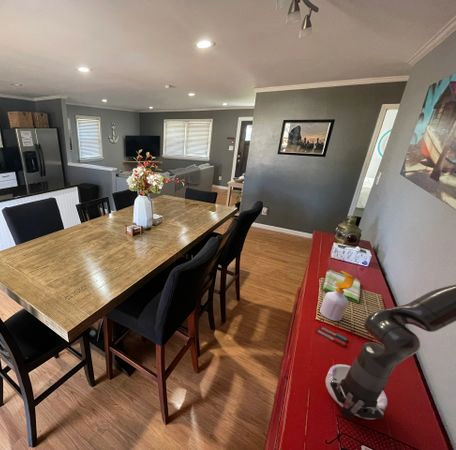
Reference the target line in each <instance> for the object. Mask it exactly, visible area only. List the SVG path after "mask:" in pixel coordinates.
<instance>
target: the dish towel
mask: <svg viewBox="0 0 456 450" xmlns="http://www.w3.org/2000/svg"><path fill="white" fill-rule="evenodd" d="M345 277H346V275H345V274H343V273H341V272H336V271H334V270H332V269H329V270H327V271H326V273H325V277H324V282H323V285H322V286H323V287H322V290H323V291H326V293H328V292H335V290H336V288H338V286H337V285H335V283H341V282H343V281H344V279H345ZM343 290H344V294H343V295H344V296H345V297H346V298H347V300H348V301H352V302H354V303H356V304H358V303H360V297H361V280H359V279H357V278H355V280H354V282H353V285H352V287H351V288H348V289H343Z"/></svg>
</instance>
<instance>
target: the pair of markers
mask: <svg viewBox="0 0 456 450" xmlns="http://www.w3.org/2000/svg"><path fill="white" fill-rule="evenodd" d="M317 333H318V334H319V335H321V336H323V337H325V338H326V339H329V340H331V341H333V342H334V343H336V344H339V346H341V347H345V346H346V342H345V341H343V340H341V339H339V338H337V337H335V336H334V337H333V336H332V335H329V334H328V333H326V332H324V331H322V330H321V329H318V330H317Z"/></svg>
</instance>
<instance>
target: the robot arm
mask: <svg viewBox="0 0 456 450" xmlns="http://www.w3.org/2000/svg"><path fill="white" fill-rule="evenodd" d="M454 323H456V284H451V285H447V286H444V287H439V288H437V289H434V290H431V291H429V292H427V293H425V294H423V295H420V297H417V298H416V299H414V300H412V301H410V302H409V303H405V304H402V305H398V306H393V307H390V308H386V309H381V310H378V311H375V312H372V313H371V314H369V315H368V316H367V317H366V318H365V320H364V322H363V327H364V329H365V331H366V332H367V333H368V334H369V335H371V337H373V338H374V339H375V340H376V341H377V342H378V343H377V342H373V341H367V342H365V343H363V345H362V346H361V348H360V350H359V352H358V354H357V355H356V357H355V358H354V360H353V361H352V363H351V365H349V366H350V369H349V371H348V373H347V375H346V377H345V379H342V380H341V381H337V380H336V379H335V378H333V379H332V381H331V383H330V385H331V387H332V389H333V391H334V393H335V396H336V398H337V400H338V401H339V402H340V403H342V404H343V407H341V409H340V413H341V414H342V416H343V418H345V419H347V420H353V418H354V416H356V415H355V414H358V415H359V416H360V417H359V418H361V417H362V418H361V419H364V418H377V419H379V420H382V419H383V418H384V414H385V410H383V409H381V408H379V407H378V405H377V403H378V402H377V399H378V398H379V396H380V394H381V393H382V391H384V390H385V389H386V386H387V384H388V382H389V379H390V377H391V375H392V373H393V371H394V370H395V368H396V367H397V366H398V365H400V364H401V363H402V362H404V361H405V360H406V359H408V358H410V357H412V356H413V355H415V354H417V353H418V352H419V350H420V349H421V341H420V338H419V337H418V335H417V334H416V333H415V332H413V331H412V330H411V329H409V328H408V327H407V326H405V325H412V326H415V327H417V328H419V329H421V330H424V331H426V332H430V333H434V332H438V331H440V330H441V329H443V328H446V327H447V326H449V325H452V324H454ZM341 388H342V390H343V392H344V394H343V392H342V390H341ZM344 395H345V396H346V398H345V397H344ZM351 401H352V402H354V403H353V405H352V406H351V405H350V404H351ZM350 406H351V407H350ZM361 407H363V408H361Z"/></svg>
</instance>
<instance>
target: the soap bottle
mask: <svg viewBox="0 0 456 450" xmlns="http://www.w3.org/2000/svg"><path fill="white" fill-rule="evenodd" d="M340 273H341V274H342V275H345V276H346V277H345V279H344V281H343V282H341V283H335V285H337V286H338V288H336V290H335V292H326V293H325V295H324V297H323V300H322V303H321V306H320V308H319V312H320V314H321V315H322V316H323V317H324V318H326V319H328V320H330V321H333V322H339V321H341V320H342V319H343V316H344V314H345V311H346V310H347V307H348V305H349V299H347V298H346V297H345V296H344V295H343V294H344V290H343V289H348V288H351V287H352V285H353V282H354V280H355V279H356V278H355V277H354V276H352V275H351V274H350V273H348V272H346V271H343V270H340Z"/></svg>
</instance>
